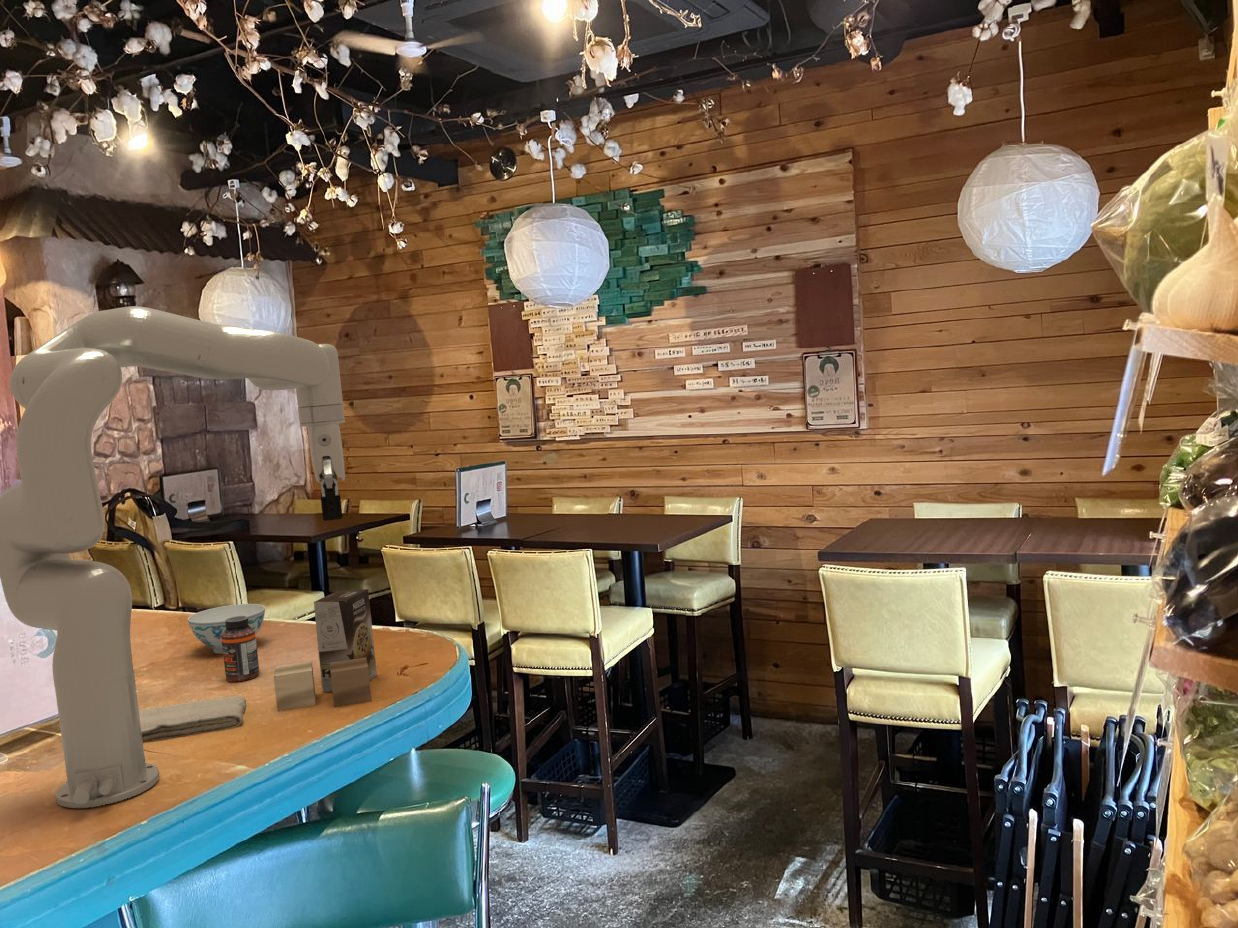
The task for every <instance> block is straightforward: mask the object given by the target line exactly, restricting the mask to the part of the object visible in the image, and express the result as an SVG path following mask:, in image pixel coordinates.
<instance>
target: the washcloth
mask: <svg viewBox="0 0 1238 928" xmlns="http://www.w3.org/2000/svg"><path fill="white" fill-rule="evenodd" d="M246 704H247V700H246V698H245V697H244V696H241V695H231V696H226V697H219V698H212V699H210V698H208V699H200V700H196V701H189V702H187V701H186V702H183V703H177V704H169V705H164V706H156V707H149V708H142V709H139V716H140V723H141V731H142V739H143V743H144V742H153V741H154V742H155V741H160V740H167V739H172V738H179V737H183V736H184V737H185V736H191V735H199V734H203V733H209V732H214V731H222V730H223V731H224V730H229V729H235V728H237V727H240V726H241V725H242V723H243V721H244V719H243V718H244V712H245V710H246V707H247V705H246ZM148 740H149V741H148ZM152 740H153V741H152Z"/></svg>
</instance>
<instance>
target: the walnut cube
mask: <svg viewBox="0 0 1238 928" xmlns="http://www.w3.org/2000/svg"><path fill="white" fill-rule="evenodd" d="M330 670H331V681H332V690H333V691H332V698H333V707H334V708H339V707H340V708H341V707H344V706H350V705H357V704H363V703H368V702H372V692H371V682H370V681H371V680H370V681H369V671H368V664H367V658H366V657H365V658H359V659H352V660H346V661H339V662H332V663H330Z"/></svg>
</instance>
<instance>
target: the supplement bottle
mask: <svg viewBox="0 0 1238 928" xmlns="http://www.w3.org/2000/svg"><path fill="white" fill-rule="evenodd" d="M248 624H249V622H248V617H247V616H237V617H232V618H228V619H226V620H225V627H226V629H225V631H224V632H223V633H222V635H221V639H222V648H223V654H222V655H223V665H224V675H225V679H226V680H227V681H228V682H231V683H232V682H233V683H239V682H245V681H249V680H252V679H255V678H256V677H258V676H259V674H260V664H259V655H258V645H257V637H256V636H257V635H255V630H254V629H253V628H252V627H250V626H249V625H248Z"/></svg>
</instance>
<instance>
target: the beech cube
mask: <svg viewBox="0 0 1238 928" xmlns="http://www.w3.org/2000/svg"><path fill="white" fill-rule="evenodd" d="M273 681H274V691H275V698H276V701H275V702H276V708H277V712H280V710H282V711H286V709H288V710H293V709H292V708H294V709H298V708H299V709H300V708H305V707H310V706H316V689H315V688H316V687H315V686H316V685H315V677H314V667H313V661H312V660H310V661H303V662H298V663H297V662H296V663H290V664H281V665H277V666H275V667H274V673H273Z"/></svg>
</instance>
